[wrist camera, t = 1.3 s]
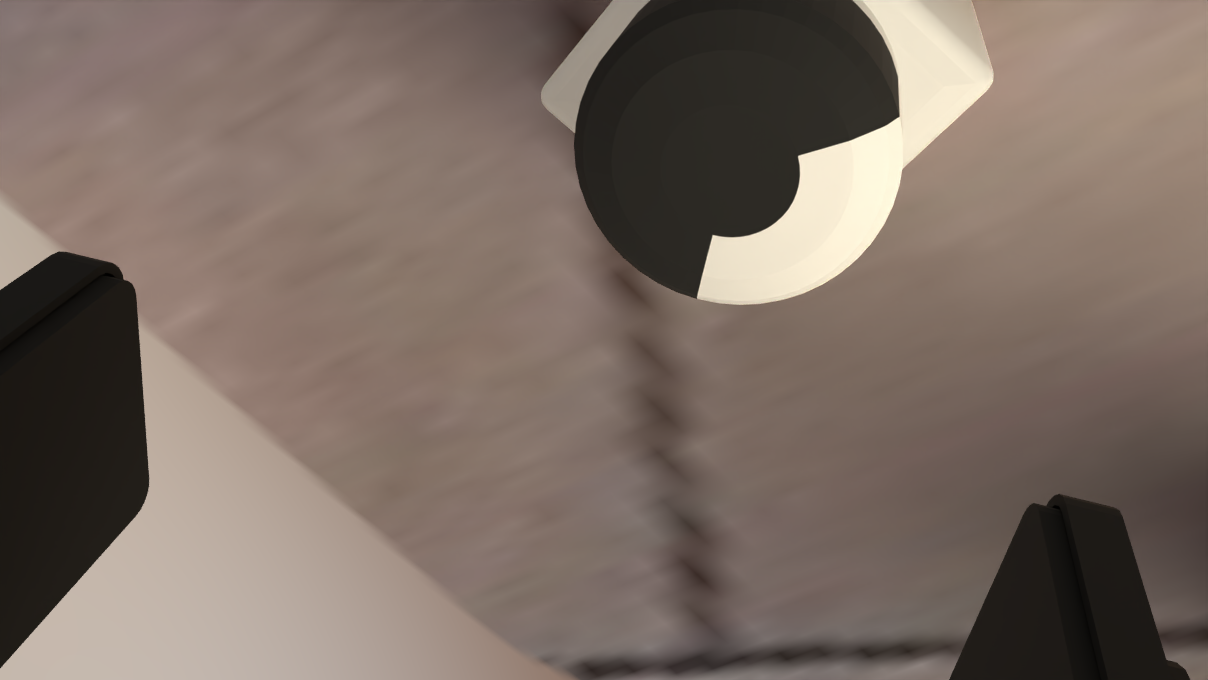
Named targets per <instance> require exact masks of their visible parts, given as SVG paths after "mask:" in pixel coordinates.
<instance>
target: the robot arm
mask: <svg viewBox="0 0 1208 680" xmlns="http://www.w3.org/2000/svg"><path fill="white" fill-rule="evenodd" d="M148 487H149V470H148V456H147V443H146V428H145V414H144V399H143V386H142V371H141V357H140V343H139V329H138V314H137V300H136V293H135V289H134V287H133V285H132V284H131V283H130V282H129V281H126V280H124V279H123V274H122V272H121V271H120V269H119V267H118V266H116V265H115V264H113V263H110V262H106V261H102V260H97V259H93V258H89V257H85V256H81V255H77V254H73V253H69V252H57V253H55V254H52V255H51V256H49V257H48V258H46V259H45V260H43V261H42V262H40V263H39V264H37V265H36V266H34V267H33V268H32V269H30V270H29V271H28V272H26V273H24V274H23V275H21V276H20V277H19V278H17V279H16V280H14V281H13V282H11V283H10V284H8V285H7V286H5V287H4V288H3V289H1V290H0V668H1V667H2V666H3V664H4V663H5V662H6V661H7V660H8V659H9V658H10V657H11V656H12V654H13V653H14V652H15V651H16V650H17V649H18V648H19V646H21V644H22V643H23V642H24V641H25V640H26V639H27V638H28V637H29V635H30V634H31V633H32V632H33V631H34V630H35V629H36V628H37V626H38V625H39V624H40V623H41V622H42V621H43V620H44V619H45V617H46V616H47V615H48V614H49V613H50V612H51V611H52V610H53V608H54V607H55V606H56V605H57V604H58V603H59V602H60V601H61V599H62V598H63V597H64V596H65V595H66V594H67V592H69V590H70V589H71V588H72V587H73V586H74V585H75V584H76V583H77V582H78V580H79V579H80V578H81V577H82V576H83V575H84V573H86V571H87V570H88V569H89V568H90V567H91V566H92V564H94V562H95V561H96V560H97V559H98V558H99V557H100V556H101V554H102V553H103V552H104V551H105V550H106V549H107V548H108V547H109V546H110V544H111V543H112V542H113V541H114V540H115V539H116V538H117V536H118V535H119V534H120V533H121V532H122V531H123V530H124V529H125V527H126V526H127V525H128V524H129V523H130V522H131V521H132V520H133V519H134V518H135V516H136V515H137V514H138V512H139V511H140V510H141V507H142V506H143V504H144V502H145V499H146V496H147V492H148ZM949 680H1190V678H1189V676H1188V674H1187V672H1186V670H1185V669H1184V668H1183V667H1181V666H1180V665H1179V664H1178V663H1176V662H1172V661H1168V660H1166V658H1165V654H1164V651H1163V648H1162V644H1161V641H1160V638H1159V635H1158V631H1157V628H1156V625H1155V622H1154V618H1153V615H1152V612H1151V608H1150V605H1149V602H1148V599H1147V595H1146V592H1145V589H1144V586H1143V582H1142V579H1141V576H1140V573H1139V569H1138V566H1137V563H1136V559H1135V556H1134V553H1133V550H1132V546H1131V543H1130V540H1129V537H1128V533H1127V530H1126V527H1125V523H1124V520H1123V517H1122V515H1121V513H1120V511H1119V510H1118V509H1116V508H1114V507H1110V506H1106V505H1102V504H1097V503H1093V502H1089V501H1085V500H1081V499H1077V498H1073V497H1069V496H1065V495H1061V494H1058V495H1055V496H1053V498H1052V499H1051V500H1050V501H1049V502H1048V504H1047V506H1043V505H1039V504H1035V503H1033V504H1031V505H1030V506H1029V507H1028V508H1027V509H1026V511H1025V513H1024V515H1023V517H1022V519H1021V521H1020V524H1019V526H1018V528H1017V530H1016V533H1015V535H1014V537H1013V539H1012V541H1011V544H1010V546H1009V548H1008V550H1007V553H1006V555H1005V557H1004V559H1003V561H1002V564H1001V566H1000V568H999V570H998V573H997V575H996V577H995V579H994V581H993V584H992V586H991V588H990V590H989V593H988V595H987V597H986V599H985V601H984V604H983V606H982V608H981V610H980V613H979V615H978V617H977V619H976V621H975V624H974V626H973V628H972V630H971V633H970V635H969V637H968V639H967V641H966V644H965V646H964V648H963V650H962V653H961V655H960V657H959V659H958V661H957V664H956V666H955V668H954V670H953V672H952V675H951V677H950V679H949Z"/></svg>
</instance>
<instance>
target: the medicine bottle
mask: <svg viewBox="0 0 1208 680" xmlns="http://www.w3.org/2000/svg"><path fill="white" fill-rule="evenodd" d="M992 83H993V69H992V66H991V63H990V59H989V56H988V53H987V49H986V46H985V43H984V39H983V36H982V33H981V29H980V26H979V23H978V19H977V16H976V13H975V9H974V6H973V3H972V1H971V0H613V1H612V2H611V3H610V4H609V6H608V7H607V8H606V9H605V11H604V12H603V13H602V14H601V15H600V17H599V18H598V19H597V20H596V22H595V23H594V24H593V25H592V27H591V28H590V29H589V30H588V32H587V33H586V34H585V35H584V36H583V38H582V39H581V40H580V41H579V43H578V44H577V45H576V46H575V48H574V49H573V50H572V51H571V53H570V54H569V55H568V56H567V58H566V59H565V60H564V61H563V62H562V64H561V65H560V66H559V67H558V69H557V70H556V71H555V72H554V74H553V75H552V76H551V77H550V79H549V80H548V81H547V82H546V83H545V85H544V87H543V89H542V91H541V100H542V104H543V105H544V106H545V108H546V109H547V110H548V111H549V112H550V113H552V114H553V115H554V116H555V117H556V118H557V119H559V120H560V121H561V122H562V123H563V124H564V125H566V126H567V127H568V128H569V129H570V130H571V131H573V132H574V133H575V140H574V149H575V164H576V170H577V174H578V179H579V184H580V188H581V190H582V193H583V196H584V199H585V201H586V204H587V207H588V209H589V211H590V212H591V214H592V216H593V218H594V220H595V222H596V224H597V226H598V227H599V228H600V230H601V231H602V233H603V234H604V236H605V237H606V238H607V240H608V241H609V243H610V244H611V245H612V246H613V247H614V248H615V249H616V250H617V251H618V252H619V253H620V254H621V256H622V257H623V258H624V259H626V260H627V261H628V262H629V263H630V264H632V265H633V266H634V267H635V268H636V269H638V270H639V271H640V272H642V273H643V274H645V275H646V276H648V277H649V278H651V279H652V280H654V281H655V282H657V283H659V284H661V285H663V286H665V287H667V288H669V289H671V290H674V291H676V292H678V293H681V294H684V295H687V296H690V297H693V298H696V299H700V300H705V301H710V302H715V303H723V304H736V305H745V304H762V303H768V302H774V301H780V300H784V299H787V298H790V297H793V296H797V295H800V294H803V293H805V292H807V291H810V290H812V289H814V288H816V287H818V286H820V285H822V284H824V283H826V282H827V281H829V280H830V279H832V278H834V277H835V276H837V275H838V274H840V273H841V272H842V271H844V270H845V269H846V268H847V267H848V266H850V265H851V264H852V263H853V262H854V261H856V260H857V259H858V258H859V256H860V255H861V254H862V253H863V252H864V251H865V250H866V249H867V248H868V247H869V245H870V244H871V243H872V242H873V240H874V239H875V237H876V236H877V234H878V233H879V231H880V230H881V228H882V227H883V225H884V223H885V221H886V219H887V217H888V215H889V213H890V211H891V209H892V207H893V204H894V201H895V198H896V195H897V192H898V188H899V185H900V179H901V173H902V169H903V168H904V167H905V166H906V165H907V164H908V163H909V162H911V161H912V160H913V159H914V158H915V157H916V156H917V155H918V154H919V153H920V152H921V151H922V150H923V149H925V148H926V147H927V146H928V145H929V144H930V143H931V142H932V141H933V140H934V139H935V138H936V137H937V136H939V135H940V134H941V133H942V132H943V131H944V130H945V129H946V128H947V127H948V126H949V125H950V124H952V123H953V122H954V121H955V120H956V119H957V118H958V117H959V116H960V115H961V114H962V113H963V112H964V111H966V110H967V109H968V108H969V107H970V106H971V105H972V104H973V103H974V102H975V101H976V100H977V99H979V98H980V97H981V96H982V95H983V94H984V93H985V92H986V91H987V90H988V89H989V87H990V86H991V84H992Z"/></svg>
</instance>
